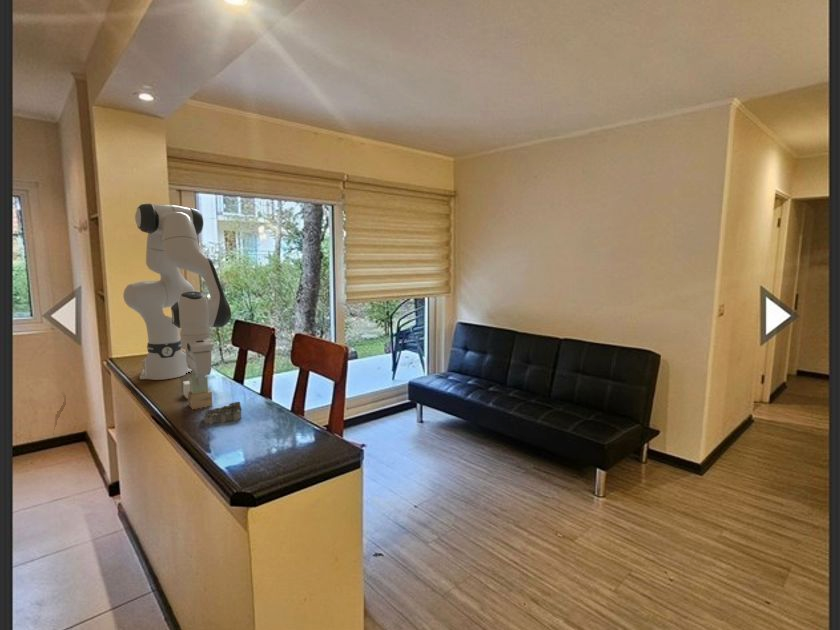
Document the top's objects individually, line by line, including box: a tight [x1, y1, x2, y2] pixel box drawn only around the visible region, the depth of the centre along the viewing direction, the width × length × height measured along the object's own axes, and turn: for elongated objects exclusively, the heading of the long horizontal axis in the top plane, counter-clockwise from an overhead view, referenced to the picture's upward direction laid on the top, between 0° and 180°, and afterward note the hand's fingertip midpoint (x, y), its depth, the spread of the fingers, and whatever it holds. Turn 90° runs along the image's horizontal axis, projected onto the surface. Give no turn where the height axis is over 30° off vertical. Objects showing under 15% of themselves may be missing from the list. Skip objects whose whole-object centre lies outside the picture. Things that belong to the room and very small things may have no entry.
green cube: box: [188, 375, 209, 394], centre depth 147 cm, size 4×4×5 cm
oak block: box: [187, 388, 213, 411], centre depth 148 cm, size 6×6×5 cm
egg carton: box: [203, 401, 243, 425], centre depth 137 cm, size 11×8×4 cm
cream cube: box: [182, 380, 190, 399], centre depth 158 cm, size 4×4×5 cm
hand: (198, 382), depth 147 cm, fingers open, 6 cm apart
